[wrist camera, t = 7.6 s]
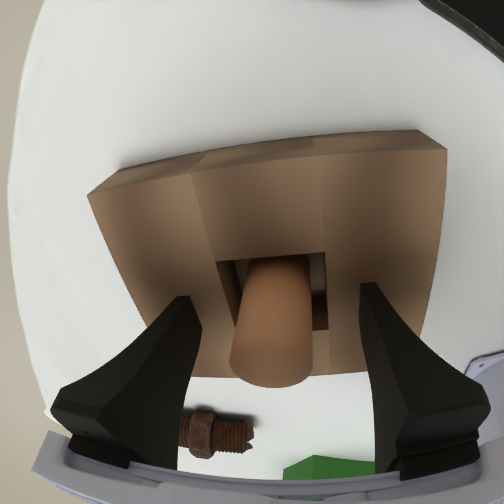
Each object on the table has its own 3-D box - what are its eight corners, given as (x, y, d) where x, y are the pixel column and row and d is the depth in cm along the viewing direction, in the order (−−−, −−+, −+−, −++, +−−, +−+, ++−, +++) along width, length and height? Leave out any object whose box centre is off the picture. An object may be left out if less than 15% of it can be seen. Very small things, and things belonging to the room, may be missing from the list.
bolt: (256, 407, 29) (118, 391, 30) (252, 409, 24) (94, 387, 26) (253, 462, 26) (114, 440, 28) (248, 472, 22) (90, 443, 23)
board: (418, 130, 12) (447, 149, 9) (401, 327, 18) (411, 365, 16) (118, 170, 14) (86, 195, 12) (186, 340, 21) (175, 375, 18)
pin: (305, 237, 15) (309, 335, 10) (312, 286, 16) (316, 385, 11) (243, 245, 15) (218, 341, 10) (256, 292, 17) (240, 388, 12)
